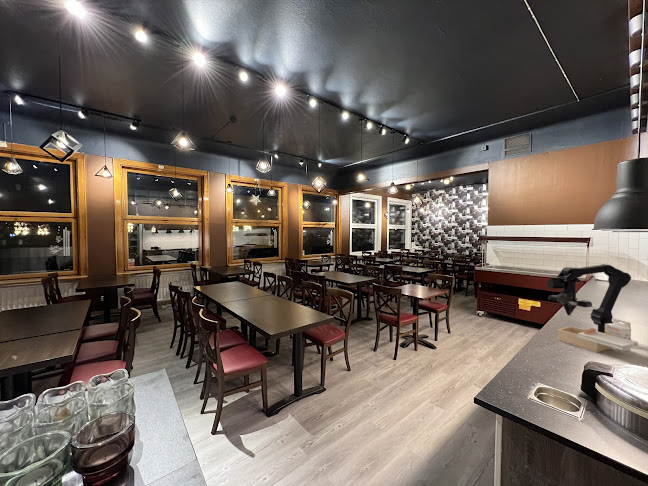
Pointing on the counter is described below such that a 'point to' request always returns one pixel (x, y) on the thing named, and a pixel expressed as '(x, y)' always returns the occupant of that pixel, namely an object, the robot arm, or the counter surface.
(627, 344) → the lid
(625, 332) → the ink cartridge box
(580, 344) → the wooden box
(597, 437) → the counter surface
